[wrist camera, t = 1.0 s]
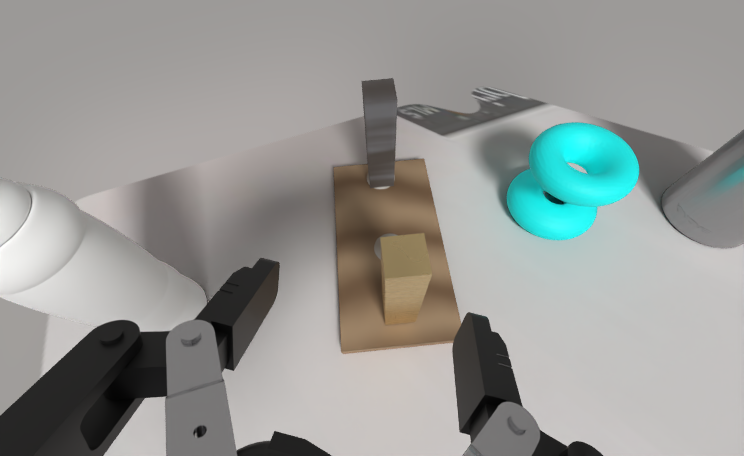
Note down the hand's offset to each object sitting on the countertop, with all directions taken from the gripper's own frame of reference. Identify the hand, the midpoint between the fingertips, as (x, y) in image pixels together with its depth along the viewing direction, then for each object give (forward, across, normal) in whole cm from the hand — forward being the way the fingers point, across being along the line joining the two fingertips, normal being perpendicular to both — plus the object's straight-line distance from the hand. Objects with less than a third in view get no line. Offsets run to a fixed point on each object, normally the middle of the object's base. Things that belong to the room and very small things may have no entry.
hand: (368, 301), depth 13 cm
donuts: (+28, -19, +5) cm, 35 cm away
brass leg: (+14, -4, +13) cm, 20 cm away
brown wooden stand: (+21, -2, +12) cm, 24 cm away
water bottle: (+13, +19, +20) cm, 31 cm away
